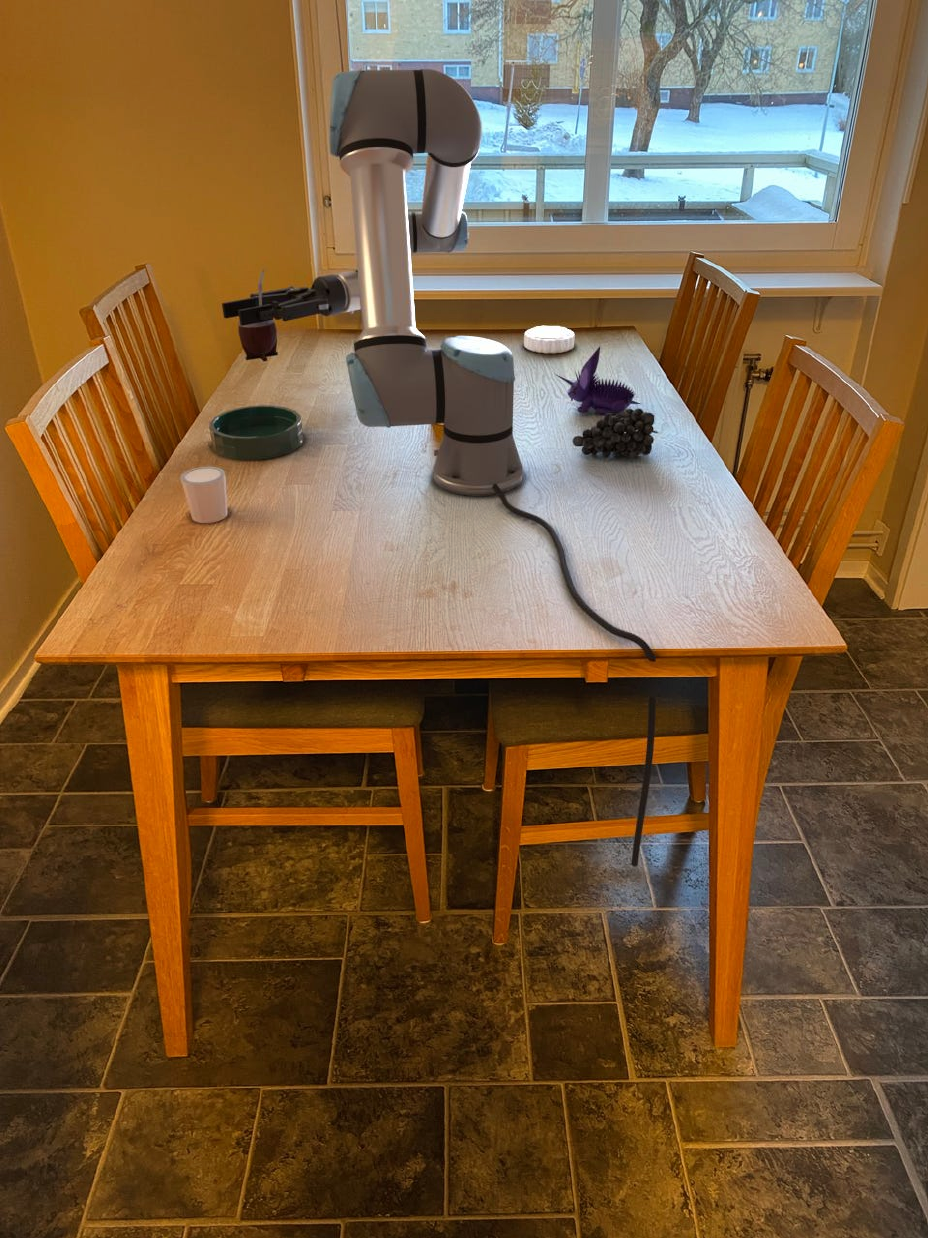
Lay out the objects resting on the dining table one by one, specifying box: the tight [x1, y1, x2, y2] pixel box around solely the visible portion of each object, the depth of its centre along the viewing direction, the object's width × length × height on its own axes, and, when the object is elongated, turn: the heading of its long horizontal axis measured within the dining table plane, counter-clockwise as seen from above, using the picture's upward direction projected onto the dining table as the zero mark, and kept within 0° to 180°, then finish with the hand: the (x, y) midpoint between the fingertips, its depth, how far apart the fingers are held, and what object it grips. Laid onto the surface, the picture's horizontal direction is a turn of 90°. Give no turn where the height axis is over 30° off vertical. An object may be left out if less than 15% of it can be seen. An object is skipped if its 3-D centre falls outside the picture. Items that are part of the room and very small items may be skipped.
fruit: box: [572, 408, 659, 459], centre depth 167 cm, size 9×8×15 cm
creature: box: [554, 345, 642, 415], centre depth 184 cm, size 9×18×12 cm, turn 80°
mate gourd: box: [237, 269, 279, 362], centre depth 177 cm, size 8×8×15 cm
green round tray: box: [209, 404, 304, 461], centre depth 173 cm, size 17×17×4 cm
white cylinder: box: [179, 466, 229, 524], centre depth 147 cm, size 7×7×7 cm
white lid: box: [523, 325, 576, 354], centre depth 222 cm, size 12×12×4 cm
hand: (232, 314), depth 173 cm, fingers closed on mate gourd, 6 cm apart
